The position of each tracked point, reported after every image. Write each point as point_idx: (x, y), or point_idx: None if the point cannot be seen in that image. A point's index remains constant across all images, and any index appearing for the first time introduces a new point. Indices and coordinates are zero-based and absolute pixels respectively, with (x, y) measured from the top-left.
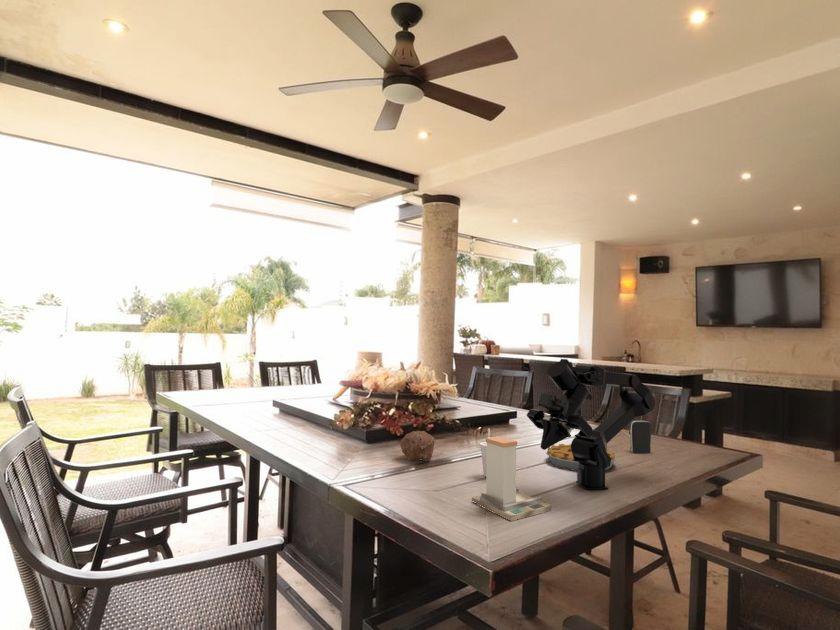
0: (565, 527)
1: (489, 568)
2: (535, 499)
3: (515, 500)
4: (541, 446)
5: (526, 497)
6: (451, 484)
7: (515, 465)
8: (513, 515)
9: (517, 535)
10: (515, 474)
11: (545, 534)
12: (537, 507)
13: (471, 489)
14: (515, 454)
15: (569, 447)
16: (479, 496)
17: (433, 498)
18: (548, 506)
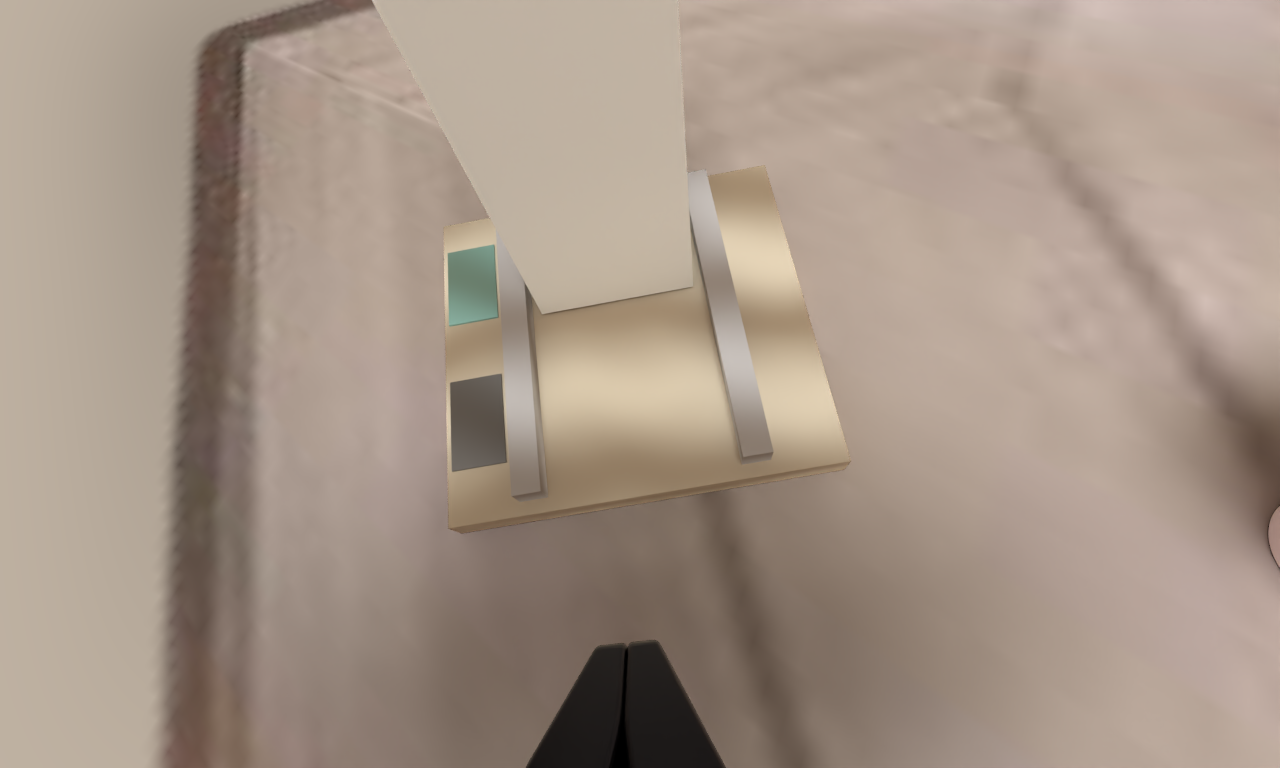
0: (255, 443)
1: (217, 31)
2: (509, 438)
3: (533, 296)
4: (632, 645)
5: (640, 461)
6: (1128, 196)
7: (444, 127)
8: (444, 241)
9: (328, 199)
10: (475, 186)
11: (264, 306)
12: (456, 413)
13: (993, 268)
14: (392, 31)
15: None
16: (763, 205)
17: (879, 47)
18: (448, 500)
